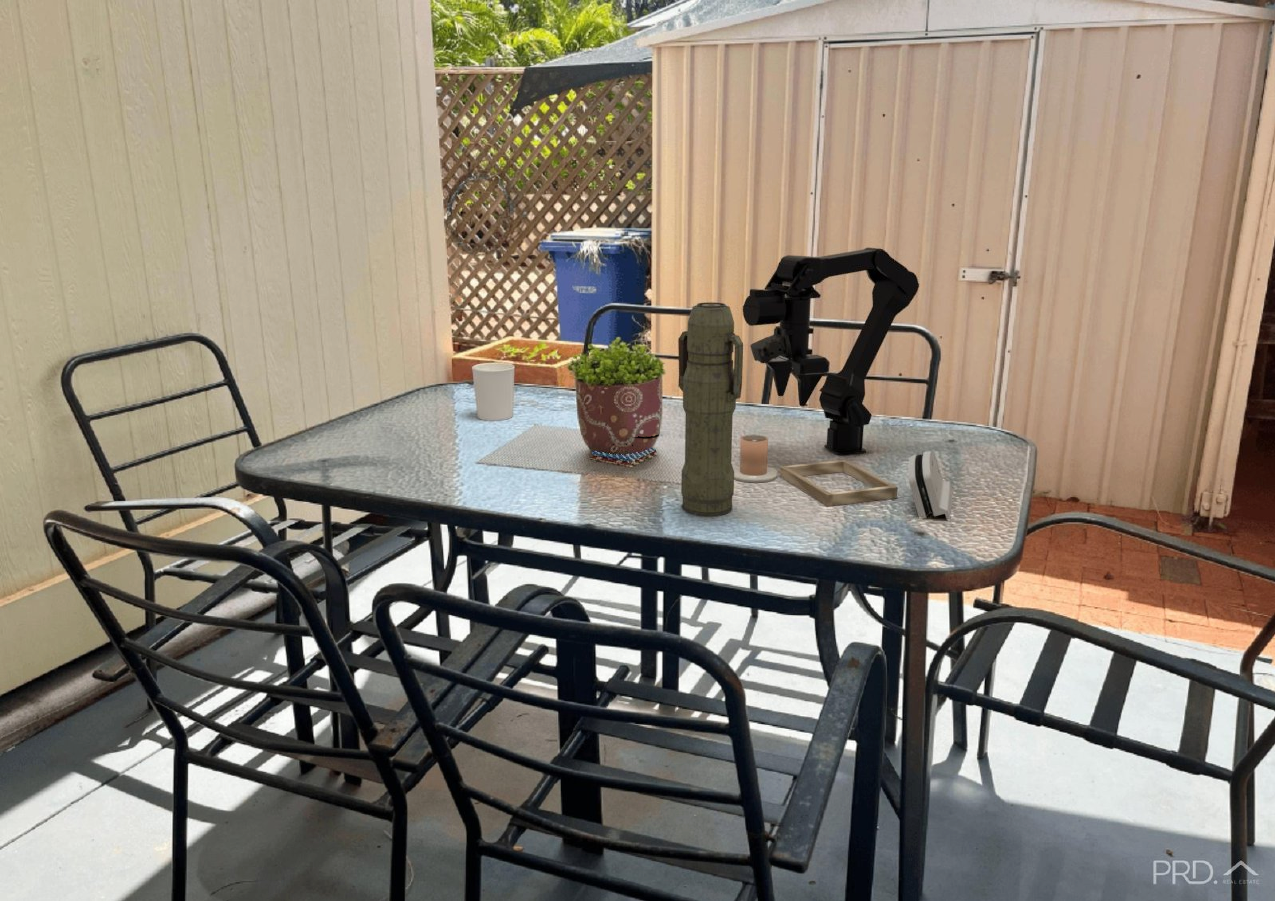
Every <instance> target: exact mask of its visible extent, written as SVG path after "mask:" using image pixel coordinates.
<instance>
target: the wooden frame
mask: <svg viewBox="0 0 1275 901" xmlns="http://www.w3.org/2000/svg"><path fill="white" fill-rule="evenodd" d="M779 468H780V469H779V477H780V478H781V479H783V480H785V481H786V482H787V483H789V484H791V485H793V486H794V487H796V488H797V489H799V490H800V491H802V492H804V493H805V494H807V495H808V496H810V497H812V498H813V499H815V500H816V501H818V502H819V503H821V504H823V505H824V506H826V507H832V506H841V505H848V504H856V503H863V502H864V503H866V502H873V501H883V500H891V499H897V498H898V492H899V487H898V486H896V485H894V484H893V483H891V482H889V481H887V480H885V479H883V478H881V477H879V476H878V475H876V474H874V473H871V472H870V471H868V470H866V469H864V468H862V467H860V466H858V465H857V464H854V463H853V462H851V461H849V460H846V459H841V460H839V459H838V460H833V461H832V460H831V461H821V462H811V463H801V464H792V465H782V466H780V467H779ZM843 472H844V473H845V474H847V475H849V476H850V477H853V478H854V479H856V480H858V481H860V482H861V483H863V484H865V485H867V486H869V487H870V488H860V489H852V490H851V489H850V490H845V491H836V492H829V491H828V490H826V489H824V488H822V487H821V486H819V485H817V484H816V483H814V482H812V481H811V480H809V479H808V478H806V476H814V475H815V476H816V475H823V474H835V473H843Z"/></svg>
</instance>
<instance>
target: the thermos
mask: <svg viewBox="0 0 1275 901" xmlns="http://www.w3.org/2000/svg"><path fill="white" fill-rule="evenodd" d="M677 341H678V342H677V343H678V345H677V346H678V347H677V348H678V349H677V350H678V383H677V385H678V387H679V389H680V390H681V392H682V408H683V411H684V413H685V430H684V433H685V435H684V436H685V437H684V440H685V441H684V463H683V466H682V469H681V481H680V482H681V483H680V484H681V490H680V491H681V493H680V494H681V496H682V504H681V508H682V510H683V511H684V512H685V513H687V514H691V515H695V516H698V517H699V516H700V517H718V516H723V515H726V514H729V513H730V512H732V510H733V497H734V494H735V492H734V491H735V479H734V470H733V467H734V466H733V464H732V457H733V456H732V453H733V451H732V448H733V445H732V444H733V419H734V418H733V416H734V415H733V414H734V413H735V410H736V408H737V401H736V400H738V399H740V398H742V396H741V395H742V388H743V369H744V368H743V367H744V366H743V364H744V343H743V341H742V339H741V337H740V336H739V335H736V333H735V321H734V316H733V313H732V310H731V307H730V306H729V305H727V304H726V303H724V302H715V301H714V302H713V301H712V302H711V301H710V302H699V303H697V304H696V305H693V306H692V307H691V310H690V314H689V316H688V319H687V330H684V331H682V333H681V334H680V335H679V338H678V340H677ZM733 353H734V357H733ZM733 358H734V360H733Z"/></svg>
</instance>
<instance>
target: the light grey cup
mask: <svg viewBox="0 0 1275 901" xmlns="http://www.w3.org/2000/svg"><path fill="white" fill-rule="evenodd" d="M515 368H516V367H515V365H514V364H513V363H507V362H484V363H477V364H475V365H473V366H471V371H472V380H473V387H474V390H473V391H474V397H475V406H476V408H475V409H476V414H477V418H478V420H482V421H488V422H498V421H499V422H500V421H505V420H509V419H512V418H513V416H514V405H515V404H514V400H515V399H514V398H515Z"/></svg>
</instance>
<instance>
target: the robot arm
mask: <svg viewBox="0 0 1275 901" xmlns="http://www.w3.org/2000/svg"><path fill="white" fill-rule="evenodd" d="M863 271H865V272H866V274H867V277H868V279H869V281H871V282H872V283H873V284H874V285H873V288H872V291H871V297H872V300H871V301H872V306H871V309H870V311H869V314H868V315H867V318H866V319H865V321H864V324H863V326H862V328H861V330H860V332H859V334H858V336H857V337H856V338H857V339H856V341H855V342H854V343H853V344H854V345H853V347H852V348H851V350H850V353H849V355H848V356H847V359H846V360H845V363H844V365H843V367H842V369H841V370H839V372H837V373H836V374H833V373H829V372H830V361H829V359H828V358H826V357H825V356H822V355H819V354H813V348H809V346H810V345H809V344H810V343H809V341H810V340H809V339H810V334H811V335H813V334H814V327H811V326H810V325H811V324H810V323H811V322H810V321H811V320H810V319H811V300H812V299H820V298H821V296H822V294H820V292H818V291H817V290H816V289H815V287H814V286H816V285H818V284H820V283H822V282H823V281H824V280H826V279H828V278H832V277H837V276H843V275H847V274H853V273H859V272H863ZM919 288H920V283H919V280H918V277H917V275H916V274H915V273H914V272H913V271H911V270H909V269H908V268H907V267H906V266H904V265H903V264H902V263H900V262H899V261H897V260H896V259H895V258H893V257H892V256H891V255H890V254H889V253H888V252H887V251H886V250H884V249H883V248H878V247H877V248H876V247H865V248H863V249H859V250H852V251H846V252H841V253H835V254H828V255H823V256H810V255H809V256H807V255H793V254H792V255H790V254H789V255H785V256H783V257H781V258H780V260H779V263H778V264H777V267H776V269H775V271H774V272H773V274H772V276H771V278H770V279H769V280H768V282H767V284H766V285H765V287H764V289H759V288H750V289H749V295H748V296H747V297H746V298H745V301H744V303H743V305H742V315H743V319H744V321H745V322H746V324H747V325H748V326H750V327H752V326H754V327H755V326H763V325H764V326H765V325H776V324H779V325H777V326H775V328H773V334H772V335H769V336H767V337H766V336H765V337H764V338H762V339H759V340H757V341H754V342H753V343H751V344H750V350H751V352H752V355H753V357H752V358H753V360H754V361H755V362H759V363H760V364H765V366H767V367H768V368H769V369H770V371H771V375H772V378H773V381H774V386H775V388H776V389H775V390H776V394H777V396H778V397H784V395H785V392H786V390H787V387H788V384H789V380H790V376H791V374H792V376H793V377H794V378H795V379H796V382H797V394H798V396H797V397H798V398H797V399H798V404H799V407H805V406H807V403H808V401H809V399H810V398H811V396H812V394H813V392H814V390H815V388H816V387H817V386H818V383H819V382H820V381H821V379H822V378H823V377H824V376H826V378H825V381H824V384H823V385H822V387H821V388H820V389H819V392H820V395H819V398H818V401H819V403H820V408H821V409H822V410H823V414H824V417H825V419H828V420H829V427H828V428H827V432H826V444H824V446H823V447H824V448H825V449H827V450H829V451H831V452H833V453H835V454H837V456H838V455H839V456H845V455H853V454H863V453H867V449H865V448H863V444H864V427H865V426H867V425H869V424H870V422H871V420H872V415H873V414H872V413H871V412H870V411H869V409H868V408H867V407H866V406H865V405H864V404H863V403H864V399H865V396H866V384H865V380H866V379H867V378H866V377H867V376H868V373H869V371H870V369H871V367H872V365H873V363H874V361H875V359H876V357H877V355H878V353H879V351H880V349H881V346H882V345H883V342H884V340H885V338H886V336H887V334H888V332H889V331H890V328H891V326H892V324H893V322H894V321H895V318H896V316H897V315H899V313H901V312H902V311H903V310H905V309H906V308H907V307H909V306H910V304H911V302H912V301H913V299H914V298H915V297H916V295H917V294H918V291H919ZM792 371H793V372H792ZM827 373H828V374H827ZM826 374H827V375H826Z"/></svg>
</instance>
